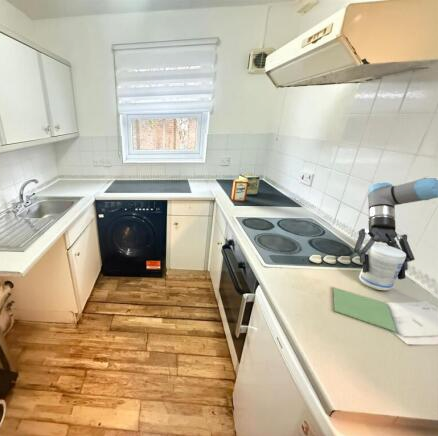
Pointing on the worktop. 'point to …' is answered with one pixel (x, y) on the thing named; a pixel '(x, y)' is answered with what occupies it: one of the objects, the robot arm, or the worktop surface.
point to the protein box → (251, 183)
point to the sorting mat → (363, 309)
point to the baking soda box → (239, 190)
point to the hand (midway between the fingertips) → (383, 275)
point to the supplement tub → (383, 267)
